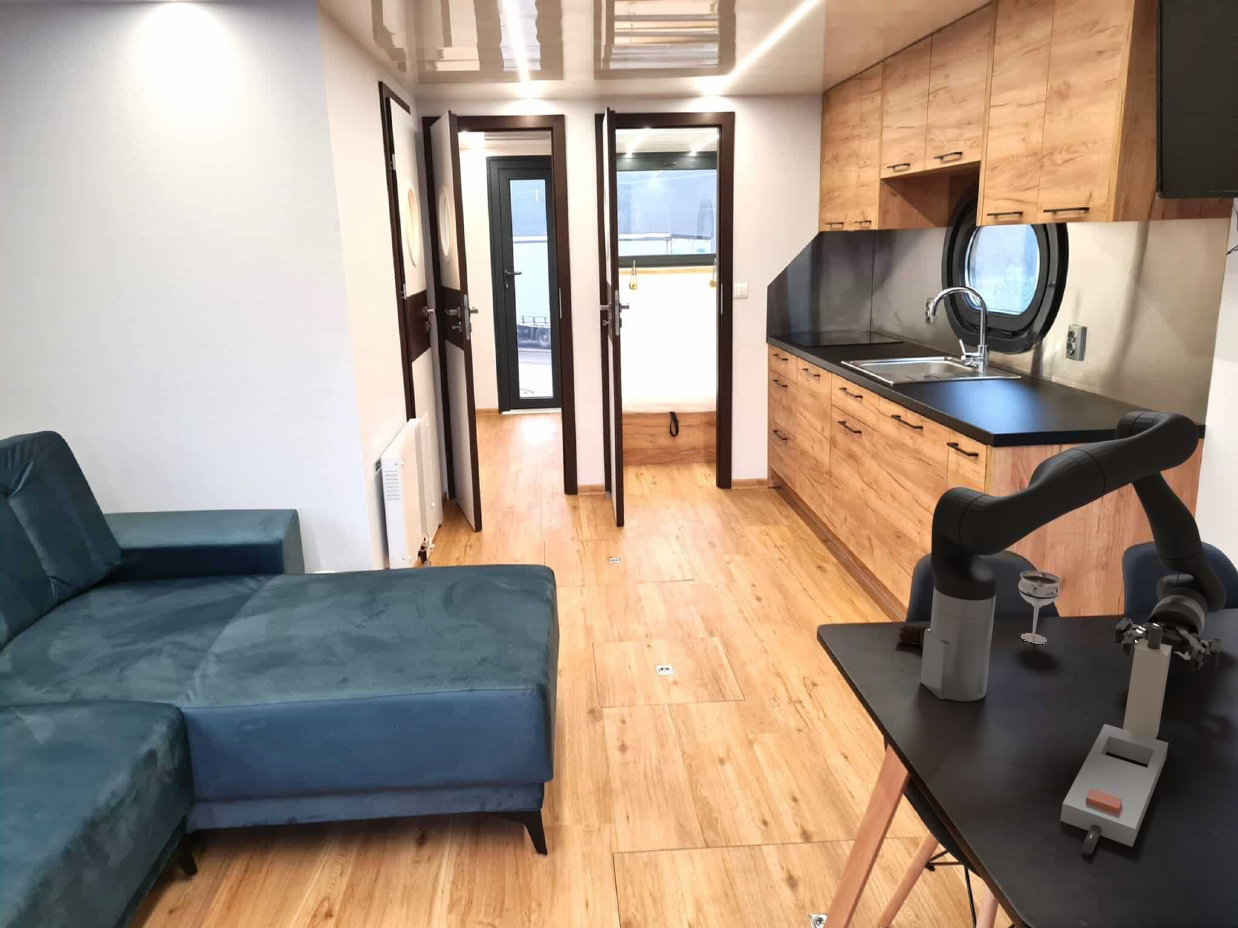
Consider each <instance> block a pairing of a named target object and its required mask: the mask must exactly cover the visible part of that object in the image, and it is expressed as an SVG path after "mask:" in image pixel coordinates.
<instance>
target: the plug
mask: <svg viewBox="0 0 1238 928" xmlns="http://www.w3.org/2000/svg"><path fill="white" fill-rule="evenodd" d="M1162 632H1163V628H1162V627H1159V626H1155V625H1152V626H1150V630H1149V636H1148V640H1144V639H1140V640H1139V642H1138V644H1137V645H1136V647H1135V648H1134V653H1133V657H1132V658H1133V659H1132V667H1131V673H1130V680H1129V687H1128V691H1127V692H1128V693H1127V699H1126V700H1127V701H1126V707H1125V713H1124V720H1123V726H1122V729H1123V730H1127V731H1130V732H1134V733H1137V734H1140V735H1144V736H1147V737H1151V738H1154V739H1157V736H1158V735H1159V729H1160V723H1161V717H1162V710H1163V705H1164V698H1165V693H1166V692H1165V691H1166V686H1167V685H1166V684H1167V681H1168V679H1167V678H1168V673H1169V667H1170V660H1171V659H1170V658H1171V656H1172V655H1171V654H1172V653H1171V648H1172V646H1169V645H1165V644H1161V638H1162Z"/></svg>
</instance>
